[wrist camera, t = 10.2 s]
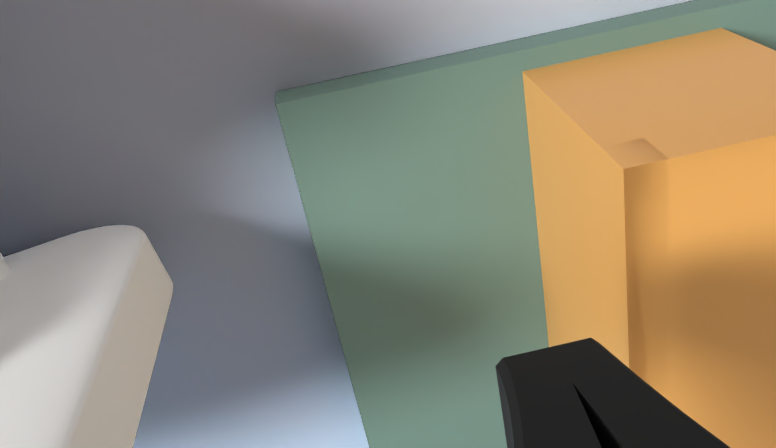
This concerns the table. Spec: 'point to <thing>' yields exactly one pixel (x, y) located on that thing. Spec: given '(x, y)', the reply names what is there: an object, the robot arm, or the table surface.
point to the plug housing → (665, 219)
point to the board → (446, 216)
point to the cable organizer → (79, 338)
